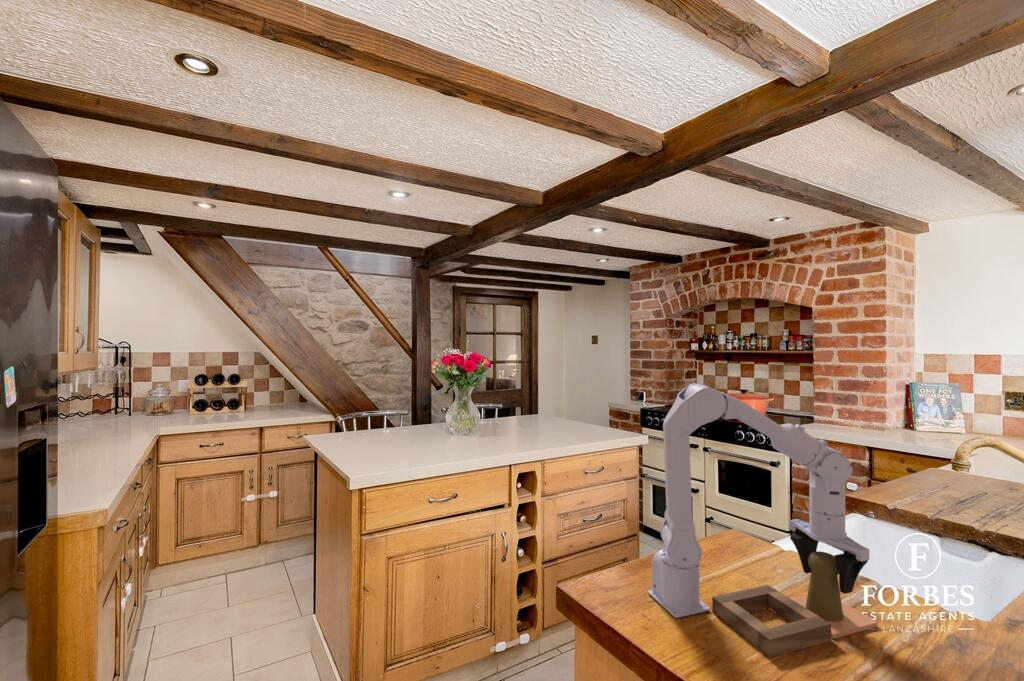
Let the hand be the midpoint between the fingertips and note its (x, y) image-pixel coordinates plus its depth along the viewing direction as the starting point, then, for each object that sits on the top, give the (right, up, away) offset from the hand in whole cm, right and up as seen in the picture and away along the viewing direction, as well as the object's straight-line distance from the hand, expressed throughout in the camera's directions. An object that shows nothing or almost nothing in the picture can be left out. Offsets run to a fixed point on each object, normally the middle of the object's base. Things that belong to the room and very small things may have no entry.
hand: (827, 581), depth 90 cm
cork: (-1, -6, 0) cm, 6 cm away
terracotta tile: (0, -7, 0) cm, 6 cm away
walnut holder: (-13, -7, -3) cm, 15 cm away
